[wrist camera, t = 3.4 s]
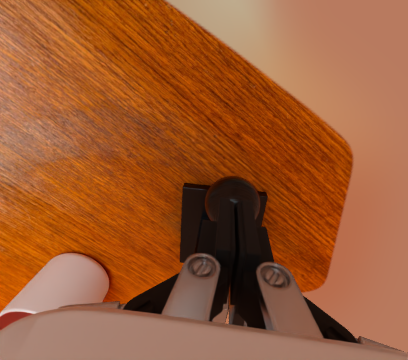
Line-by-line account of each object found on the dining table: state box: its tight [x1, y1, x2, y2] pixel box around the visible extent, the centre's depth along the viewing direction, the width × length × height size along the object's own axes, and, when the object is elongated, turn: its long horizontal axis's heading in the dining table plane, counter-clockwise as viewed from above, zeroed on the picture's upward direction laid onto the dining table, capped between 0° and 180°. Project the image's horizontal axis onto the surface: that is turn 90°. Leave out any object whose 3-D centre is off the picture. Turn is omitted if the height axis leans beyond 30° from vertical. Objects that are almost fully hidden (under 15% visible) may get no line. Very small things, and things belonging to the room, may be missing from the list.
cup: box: [0, 253, 109, 330], centre depth 33 cm, size 10×10×10 cm
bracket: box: [180, 183, 268, 326], centre depth 25 cm, size 12×10×13 cm
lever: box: [205, 176, 260, 324], centre depth 17 cm, size 15×3×3 cm, turn 176°
